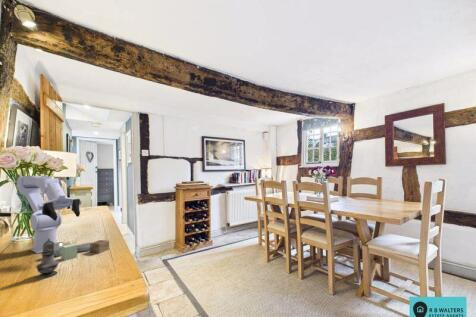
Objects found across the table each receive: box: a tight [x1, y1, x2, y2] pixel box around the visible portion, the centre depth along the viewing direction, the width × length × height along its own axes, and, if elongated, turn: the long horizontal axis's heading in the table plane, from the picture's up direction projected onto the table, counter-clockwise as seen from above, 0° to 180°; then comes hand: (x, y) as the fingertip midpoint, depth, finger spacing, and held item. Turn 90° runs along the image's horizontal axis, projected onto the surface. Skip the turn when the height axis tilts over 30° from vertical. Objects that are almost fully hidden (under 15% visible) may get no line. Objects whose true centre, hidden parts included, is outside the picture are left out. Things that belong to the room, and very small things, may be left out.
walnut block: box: [89, 239, 110, 254], centre depth 97 cm, size 5×5×4 cm
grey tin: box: [54, 241, 64, 259], centre depth 92 cm, size 4×4×5 cm
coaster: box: [76, 242, 91, 253], centre depth 101 cm, size 10×10×1 cm
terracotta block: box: [62, 240, 71, 245], centre depth 97 cm, size 4×6×4 cm, turn 133°
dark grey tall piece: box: [35, 239, 60, 280], centre depth 75 cm, size 6×6×12 cm
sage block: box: [60, 243, 78, 261], centre depth 90 cm, size 4×4×5 cm
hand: (67, 216), depth 89 cm, fingers open, 7 cm apart
